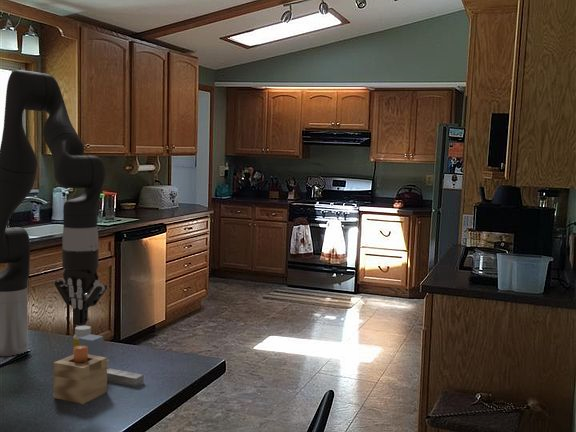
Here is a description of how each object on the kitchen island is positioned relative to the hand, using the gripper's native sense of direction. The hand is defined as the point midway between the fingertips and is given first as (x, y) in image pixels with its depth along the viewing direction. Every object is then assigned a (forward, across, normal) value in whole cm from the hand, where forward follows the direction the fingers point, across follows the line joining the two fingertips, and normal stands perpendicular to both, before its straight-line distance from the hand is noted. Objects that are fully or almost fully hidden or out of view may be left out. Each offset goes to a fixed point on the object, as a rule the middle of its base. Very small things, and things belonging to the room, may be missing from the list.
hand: (80, 324), depth 144 cm
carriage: (+16, -6, +11) cm, 20 cm away
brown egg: (+8, 0, 0) cm, 8 cm away
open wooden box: (+16, 0, 0) cm, 16 cm away
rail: (+16, -1, +11) cm, 19 cm away
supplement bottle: (+16, -16, +20) cm, 30 cm away
